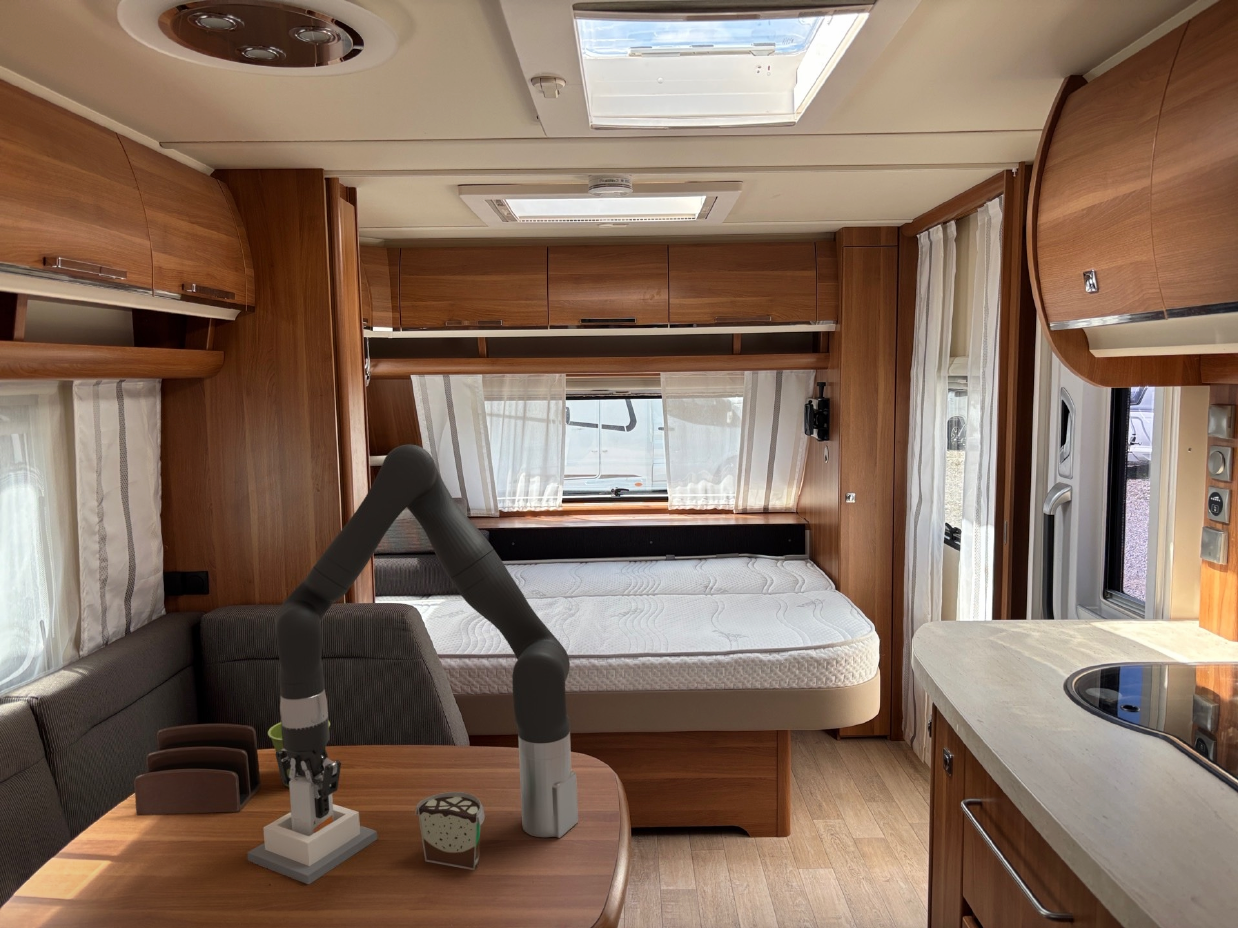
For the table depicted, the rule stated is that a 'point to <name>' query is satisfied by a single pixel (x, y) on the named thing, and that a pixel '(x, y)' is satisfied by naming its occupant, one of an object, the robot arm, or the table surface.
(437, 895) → the table surface
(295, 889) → the table surface
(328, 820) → the skincare box
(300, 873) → the box stand
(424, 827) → the food container
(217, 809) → the letter holder
